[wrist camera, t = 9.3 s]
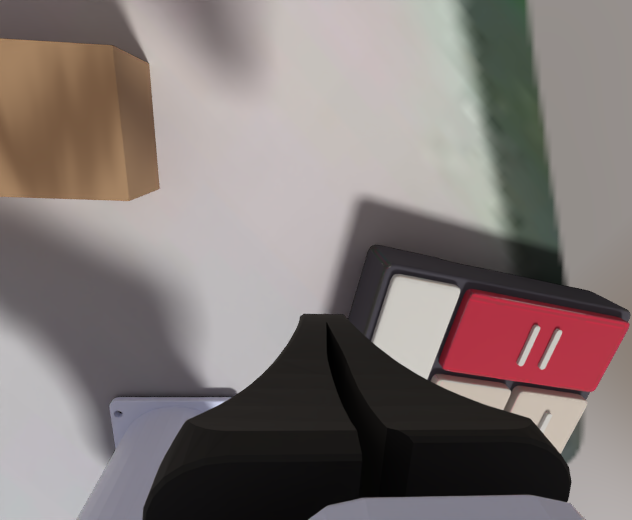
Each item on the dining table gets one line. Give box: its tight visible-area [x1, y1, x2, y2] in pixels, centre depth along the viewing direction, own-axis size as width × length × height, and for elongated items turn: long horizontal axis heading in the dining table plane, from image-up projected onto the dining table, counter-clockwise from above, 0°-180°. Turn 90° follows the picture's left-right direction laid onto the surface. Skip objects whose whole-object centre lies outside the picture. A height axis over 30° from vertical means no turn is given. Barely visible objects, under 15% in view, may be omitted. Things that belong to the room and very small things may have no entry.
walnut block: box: [0, 38, 159, 201], centre depth 17 cm, size 6×4×10 cm
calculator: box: [348, 245, 630, 454], centre depth 23 cm, size 11×4×15 cm
